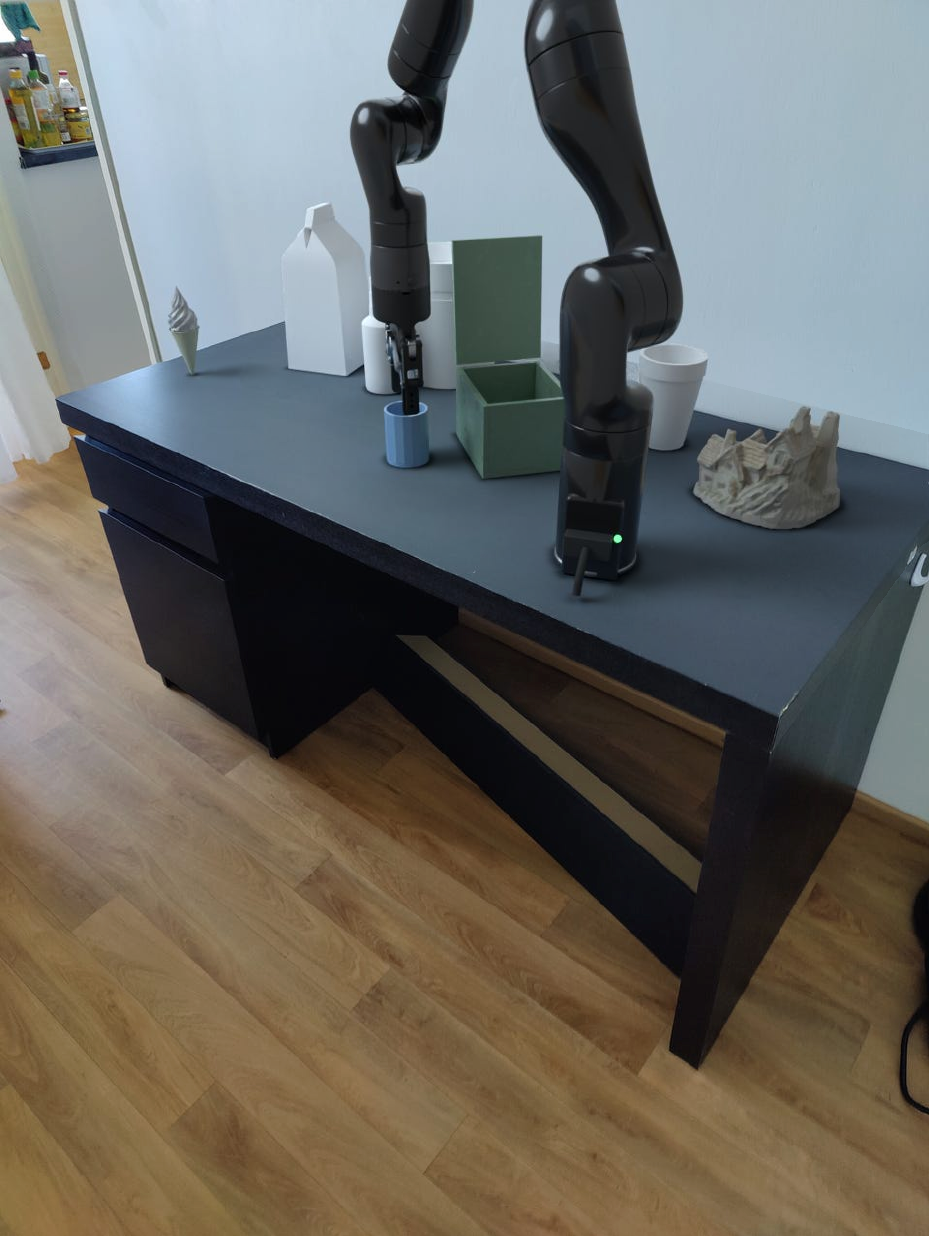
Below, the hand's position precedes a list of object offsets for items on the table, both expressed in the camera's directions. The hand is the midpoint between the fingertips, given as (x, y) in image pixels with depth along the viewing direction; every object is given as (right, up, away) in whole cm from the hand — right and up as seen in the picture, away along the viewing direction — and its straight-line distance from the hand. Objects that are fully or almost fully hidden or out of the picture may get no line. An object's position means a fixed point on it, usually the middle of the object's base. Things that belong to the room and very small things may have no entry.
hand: (405, 402), depth 121 cm
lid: (+13, +15, +2) cm, 20 cm away
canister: (+5, +13, +34) cm, 37 cm away
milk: (-16, +17, +39) cm, 46 cm away
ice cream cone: (-39, +13, +34) cm, 54 cm away
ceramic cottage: (+47, -14, -6) cm, 50 cm away
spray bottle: (-5, +9, +28) cm, 30 cm away
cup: (0, -7, +5) cm, 8 cm away
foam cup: (+37, -4, +9) cm, 39 cm away
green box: (+15, -5, +7) cm, 17 cm away
